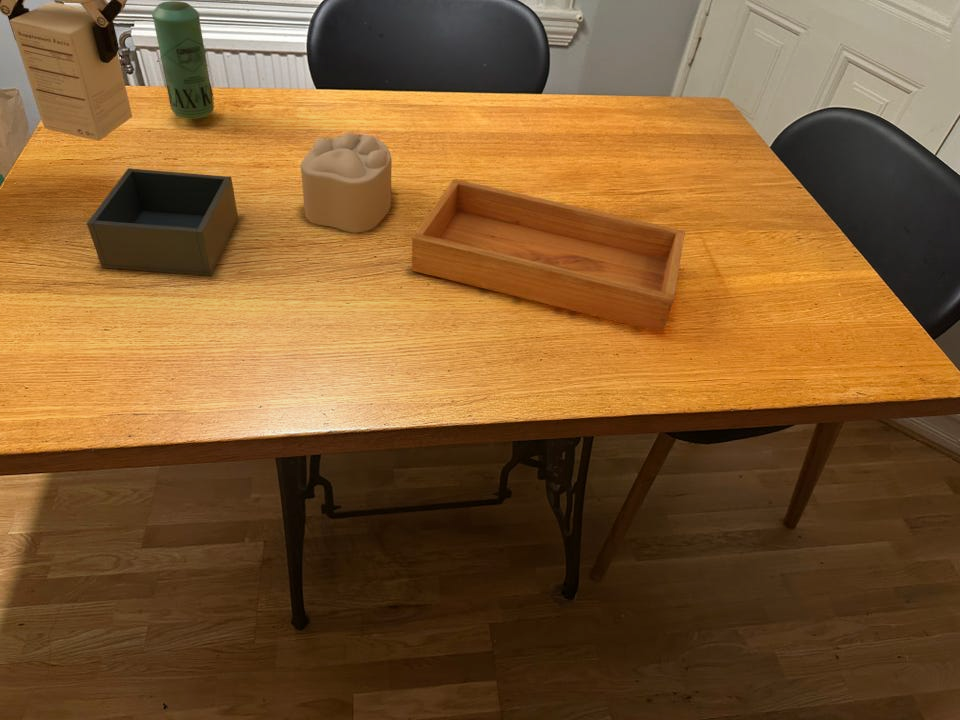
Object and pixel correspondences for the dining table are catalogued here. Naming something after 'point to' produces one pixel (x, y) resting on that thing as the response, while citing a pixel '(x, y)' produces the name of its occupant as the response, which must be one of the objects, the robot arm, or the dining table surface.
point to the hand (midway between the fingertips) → (70, 53)
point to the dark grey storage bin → (164, 222)
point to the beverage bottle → (183, 59)
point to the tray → (551, 253)
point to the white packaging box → (70, 72)
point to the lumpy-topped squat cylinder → (347, 182)
